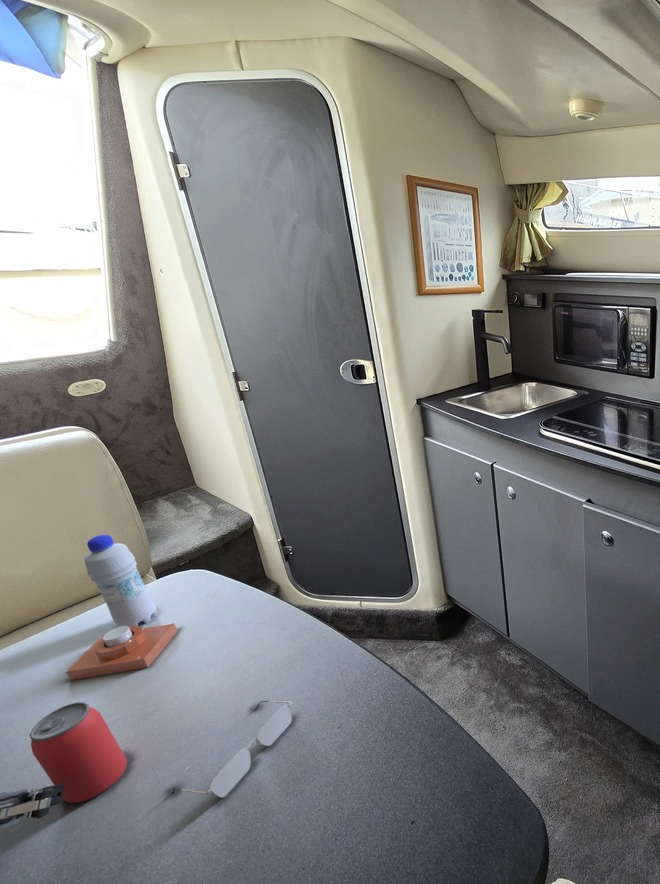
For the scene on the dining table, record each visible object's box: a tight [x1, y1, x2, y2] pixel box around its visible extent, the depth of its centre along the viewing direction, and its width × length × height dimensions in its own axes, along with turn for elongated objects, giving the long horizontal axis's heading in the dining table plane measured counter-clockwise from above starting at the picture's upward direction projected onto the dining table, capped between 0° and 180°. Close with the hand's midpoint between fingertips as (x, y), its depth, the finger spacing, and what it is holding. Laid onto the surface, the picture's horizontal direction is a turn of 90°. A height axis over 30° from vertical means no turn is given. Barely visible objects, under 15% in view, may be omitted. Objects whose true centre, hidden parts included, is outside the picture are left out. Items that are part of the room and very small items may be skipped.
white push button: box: [103, 626, 133, 647], centre depth 89 cm, size 4×4×2 cm
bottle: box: [83, 534, 157, 627], centre depth 96 cm, size 7×7×20 cm
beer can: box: [29, 701, 128, 804], centre depth 67 cm, size 7×7×12 cm
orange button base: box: [65, 623, 178, 681], centre depth 90 cm, size 12×9×4 cm
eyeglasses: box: [172, 700, 293, 798], centre depth 72 cm, size 14×8×4 cm, turn 166°
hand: (55, 794), depth 63 cm, fingers closed
